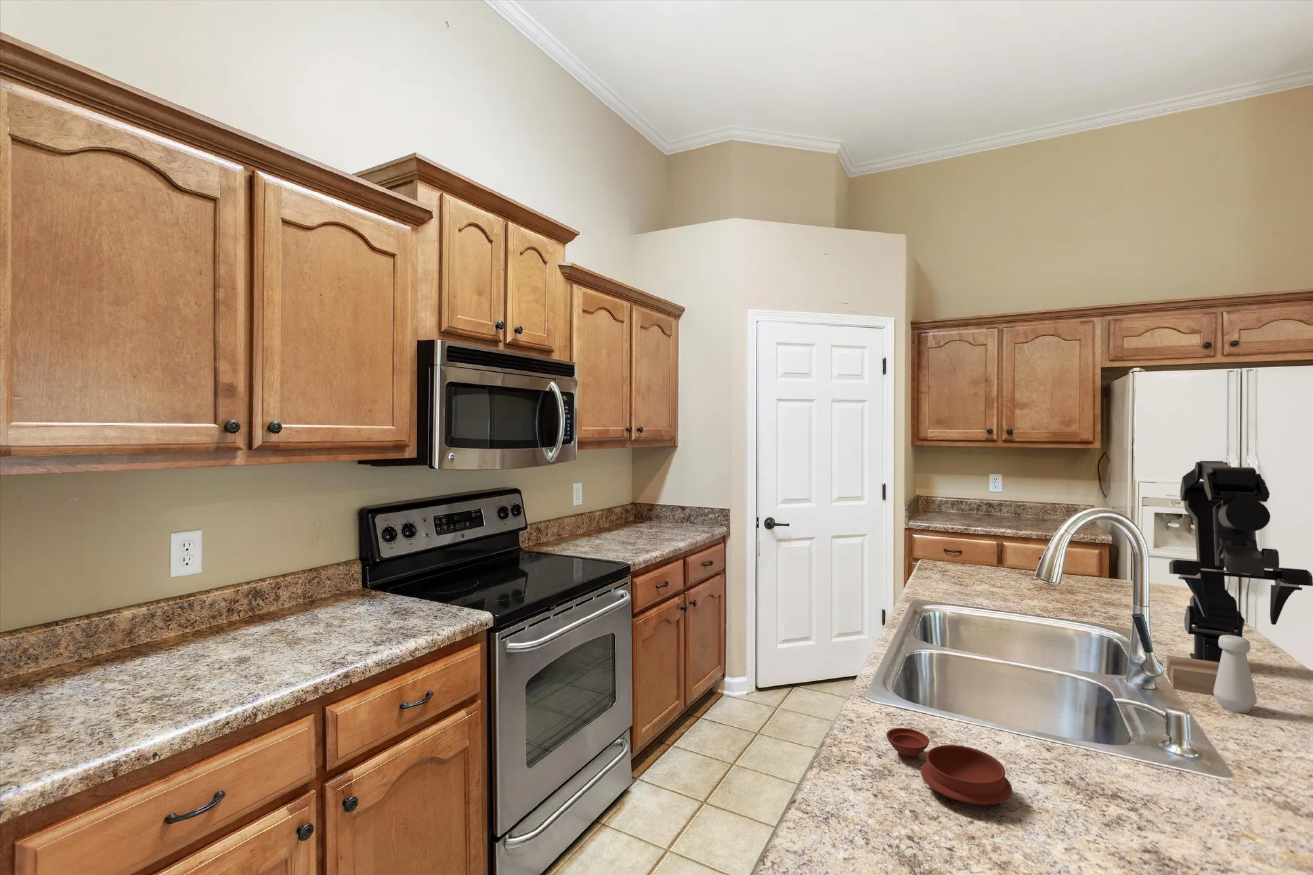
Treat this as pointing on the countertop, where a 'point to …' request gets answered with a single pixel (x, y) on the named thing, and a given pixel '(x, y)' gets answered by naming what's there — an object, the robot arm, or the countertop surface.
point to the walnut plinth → (1192, 674)
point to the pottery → (955, 768)
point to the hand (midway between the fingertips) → (1238, 620)
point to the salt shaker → (1234, 675)
